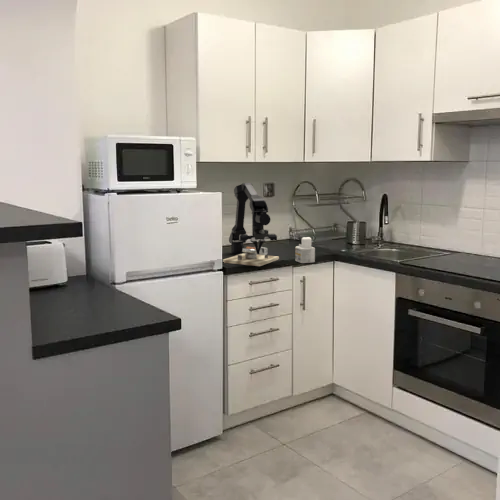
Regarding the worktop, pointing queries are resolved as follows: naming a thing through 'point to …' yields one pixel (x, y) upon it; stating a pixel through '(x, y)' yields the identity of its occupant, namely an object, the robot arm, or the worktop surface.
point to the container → (305, 251)
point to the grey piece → (252, 250)
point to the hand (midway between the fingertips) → (258, 254)
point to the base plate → (251, 259)
